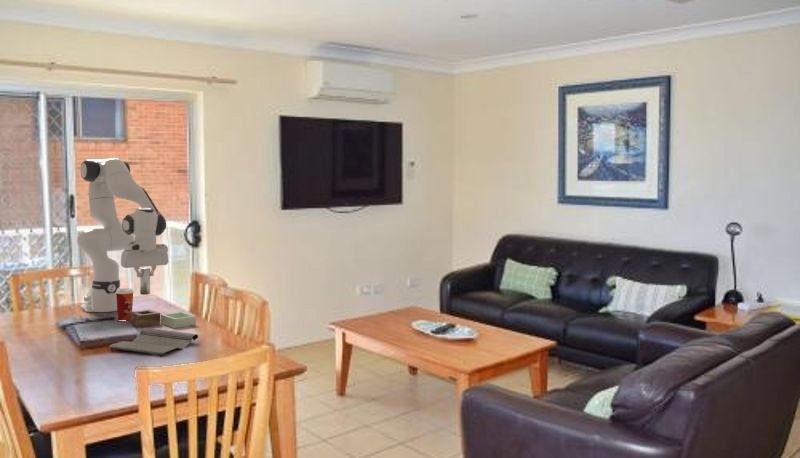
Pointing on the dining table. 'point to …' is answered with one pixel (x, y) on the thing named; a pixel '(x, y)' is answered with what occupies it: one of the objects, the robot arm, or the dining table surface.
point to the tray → (178, 319)
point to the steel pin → (145, 281)
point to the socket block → (145, 318)
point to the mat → (156, 342)
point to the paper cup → (124, 303)
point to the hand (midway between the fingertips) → (145, 276)
